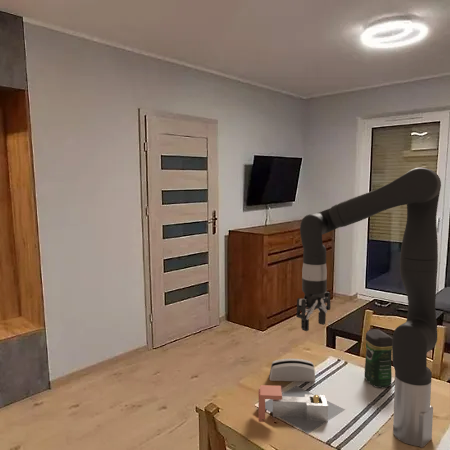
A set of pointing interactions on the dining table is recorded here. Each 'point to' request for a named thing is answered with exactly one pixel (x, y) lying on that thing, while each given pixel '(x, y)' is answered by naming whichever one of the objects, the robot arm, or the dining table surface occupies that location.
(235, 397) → the dining table surface
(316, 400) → the knob
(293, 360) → the grey arched slotted block
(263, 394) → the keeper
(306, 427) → the board
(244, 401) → the dining table surface
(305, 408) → the grey long bar
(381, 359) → the coffee jar
